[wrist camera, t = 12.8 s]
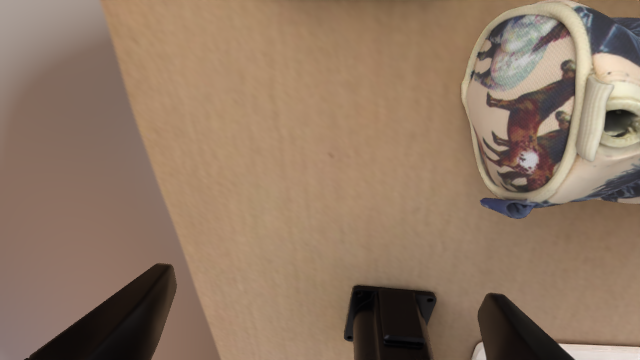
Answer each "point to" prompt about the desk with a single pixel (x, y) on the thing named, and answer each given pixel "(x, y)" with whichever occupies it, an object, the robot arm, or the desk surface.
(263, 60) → the desk surface
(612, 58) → the pencil case
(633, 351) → the smartphone
